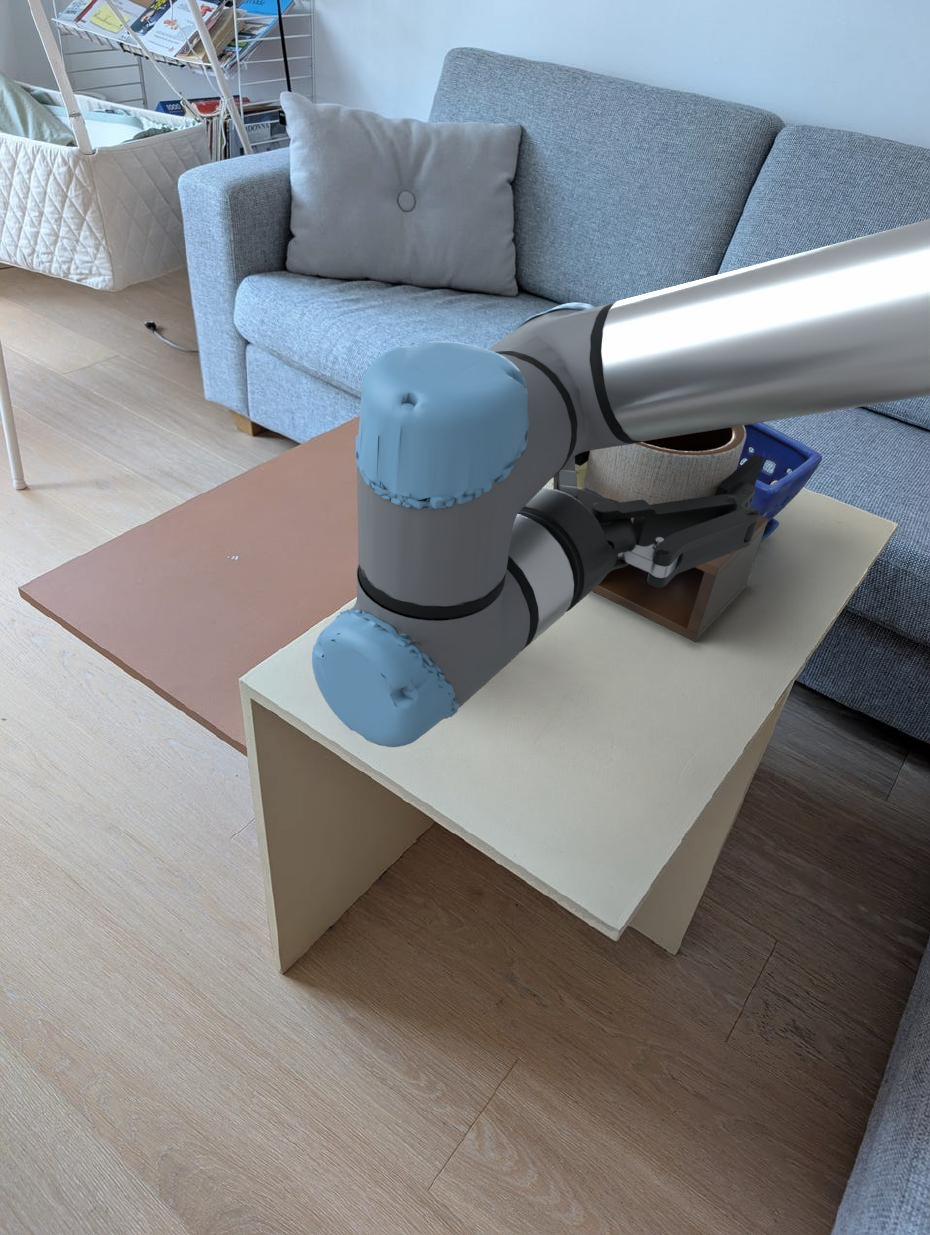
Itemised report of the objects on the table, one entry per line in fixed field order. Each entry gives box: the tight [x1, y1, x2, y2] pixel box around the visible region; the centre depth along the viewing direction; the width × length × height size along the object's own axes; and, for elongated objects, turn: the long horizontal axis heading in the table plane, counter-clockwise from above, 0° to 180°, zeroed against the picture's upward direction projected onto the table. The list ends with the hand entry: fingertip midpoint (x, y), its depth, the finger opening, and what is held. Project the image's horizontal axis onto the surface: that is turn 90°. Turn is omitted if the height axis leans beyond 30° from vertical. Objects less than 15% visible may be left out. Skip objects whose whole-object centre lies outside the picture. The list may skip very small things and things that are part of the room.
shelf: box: [591, 516, 768, 642], centre depth 92 cm, size 13×12×9 cm
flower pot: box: [737, 422, 823, 544], centre depth 99 cm, size 13×13×12 cm
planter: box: [582, 425, 746, 523], centre depth 67 cm, size 11×11×10 cm
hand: (685, 445), depth 69 cm, fingers closed on planter, 11 cm apart
